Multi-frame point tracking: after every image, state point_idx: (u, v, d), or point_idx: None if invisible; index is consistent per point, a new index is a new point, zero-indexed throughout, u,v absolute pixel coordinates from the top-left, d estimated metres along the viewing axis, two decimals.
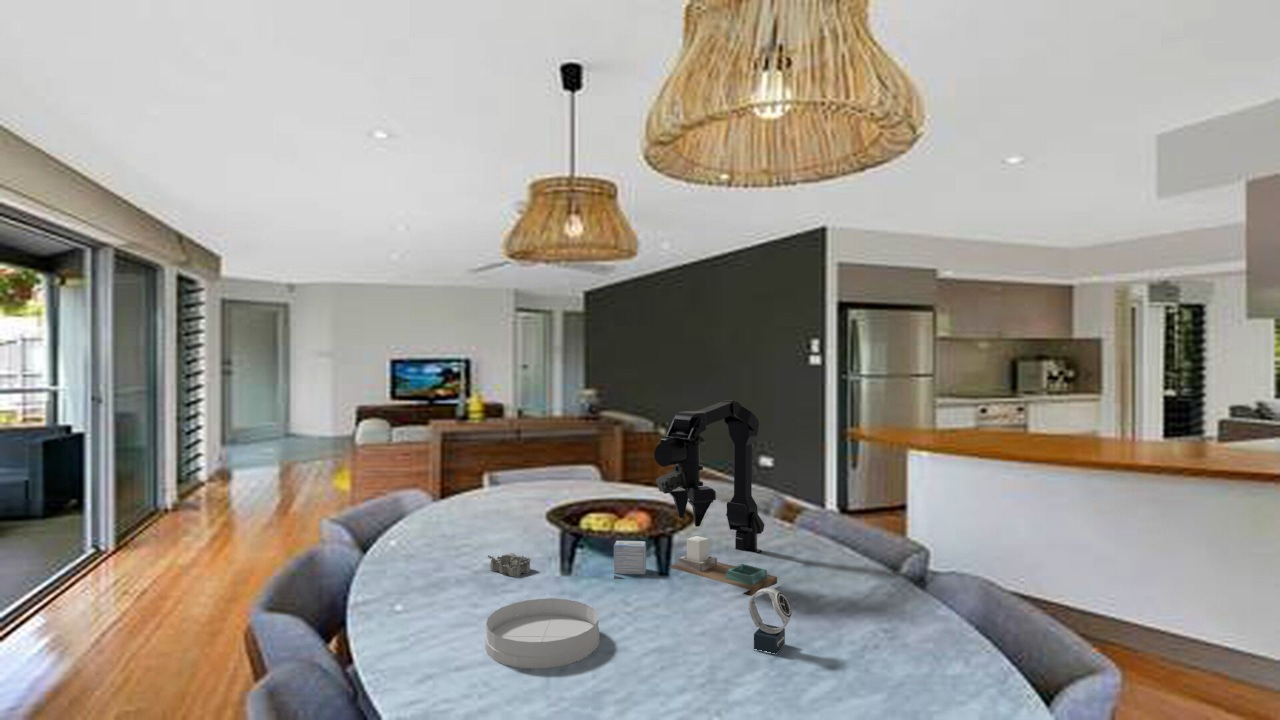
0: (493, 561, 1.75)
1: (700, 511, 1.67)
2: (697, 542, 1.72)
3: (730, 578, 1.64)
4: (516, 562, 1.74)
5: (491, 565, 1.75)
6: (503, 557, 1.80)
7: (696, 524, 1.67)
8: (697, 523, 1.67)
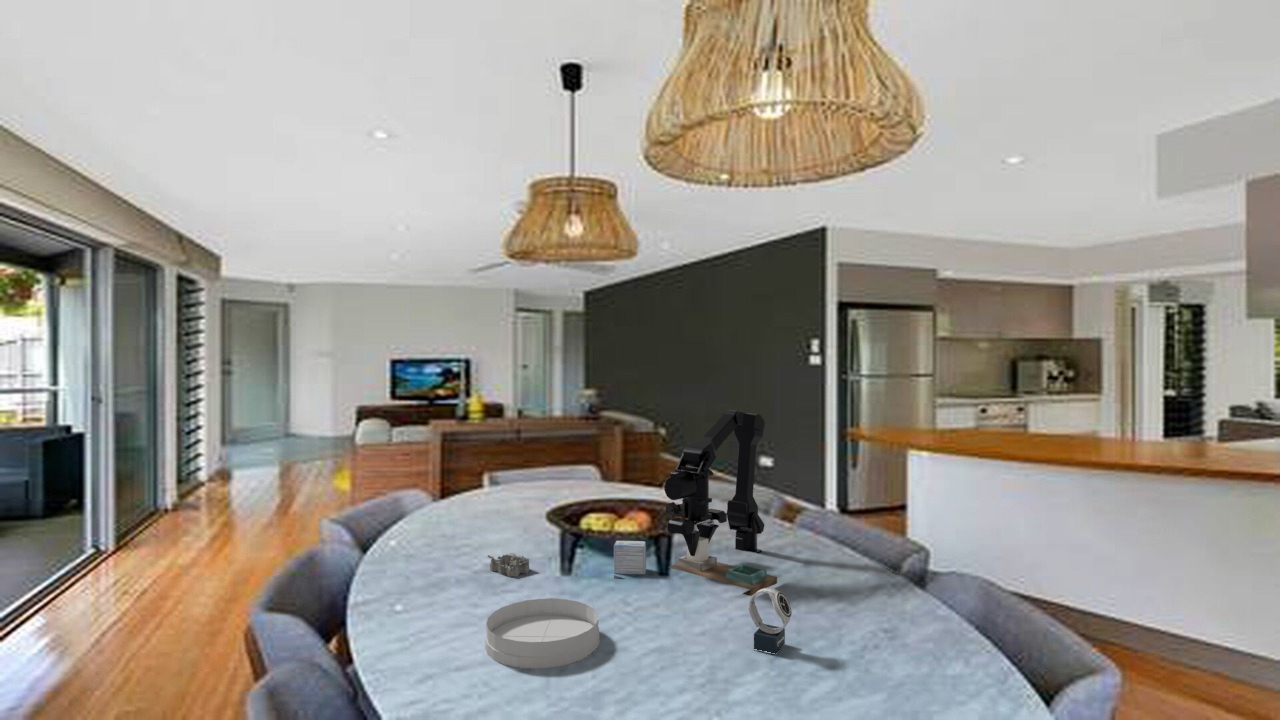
0: (492, 561, 1.75)
1: (690, 541, 1.72)
2: None
3: (730, 578, 1.64)
4: (515, 562, 1.74)
5: (490, 565, 1.75)
6: (504, 557, 1.80)
7: (690, 553, 1.73)
8: (690, 552, 1.73)
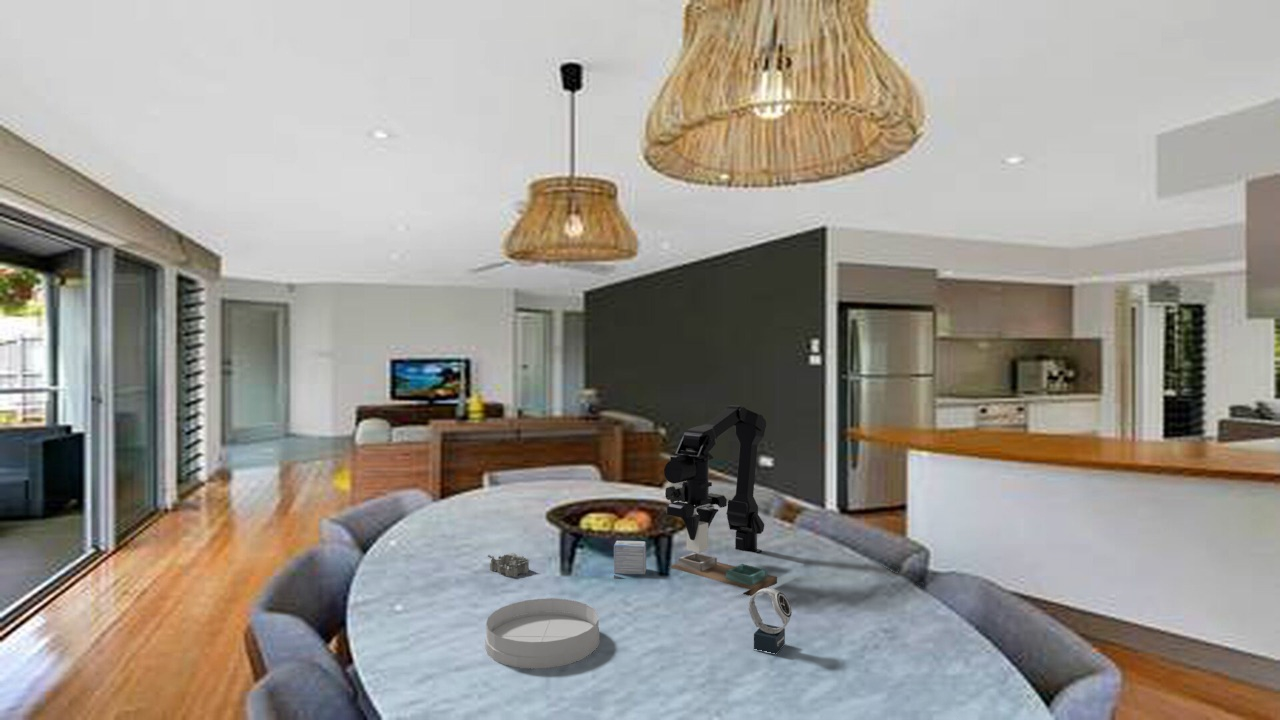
0: (492, 561, 1.76)
1: (690, 525, 1.72)
2: None
3: (730, 578, 1.64)
4: (514, 562, 1.74)
5: (490, 565, 1.75)
6: (504, 557, 1.80)
7: (690, 537, 1.73)
8: (690, 536, 1.73)
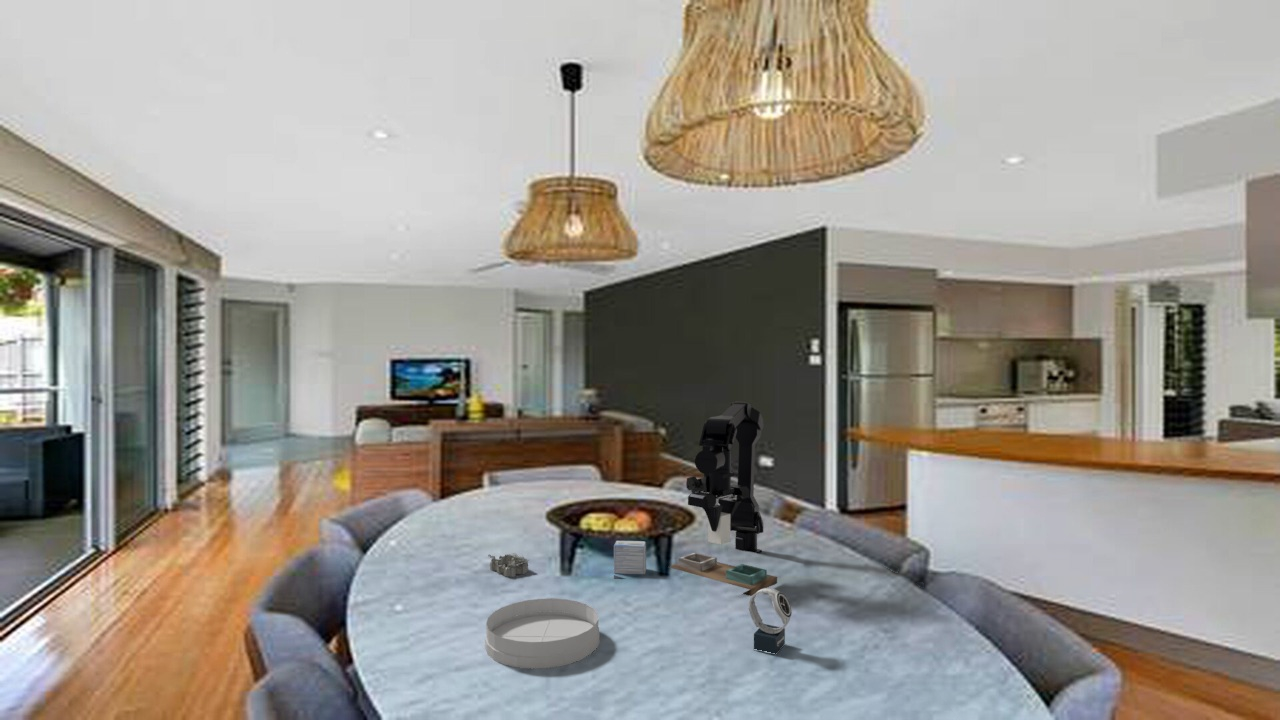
0: (492, 560, 1.76)
1: (712, 516, 1.67)
2: None
3: (730, 578, 1.64)
4: (513, 563, 1.74)
5: (490, 564, 1.76)
6: (506, 557, 1.80)
7: (712, 528, 1.68)
8: (712, 528, 1.68)
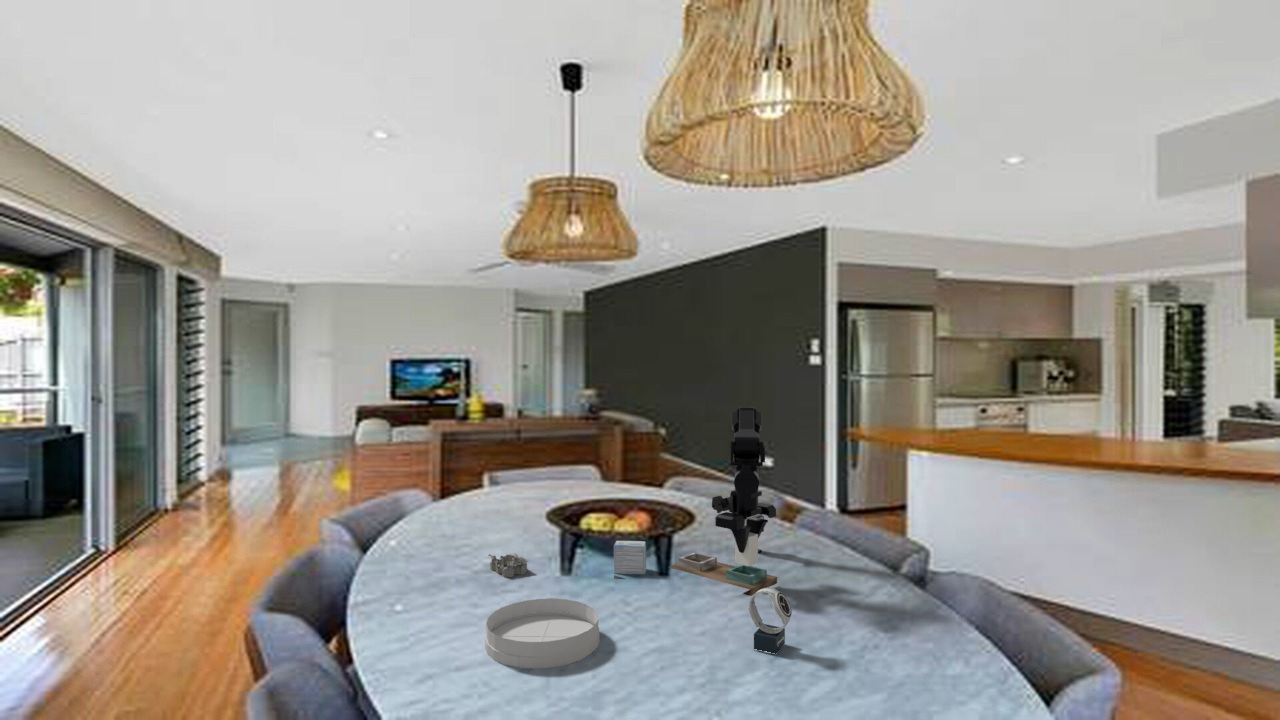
0: (492, 560, 1.76)
1: (739, 537, 1.62)
2: None
3: (730, 578, 1.64)
4: (512, 563, 1.74)
5: (490, 564, 1.76)
6: (507, 557, 1.81)
7: (739, 549, 1.63)
8: (739, 549, 1.63)
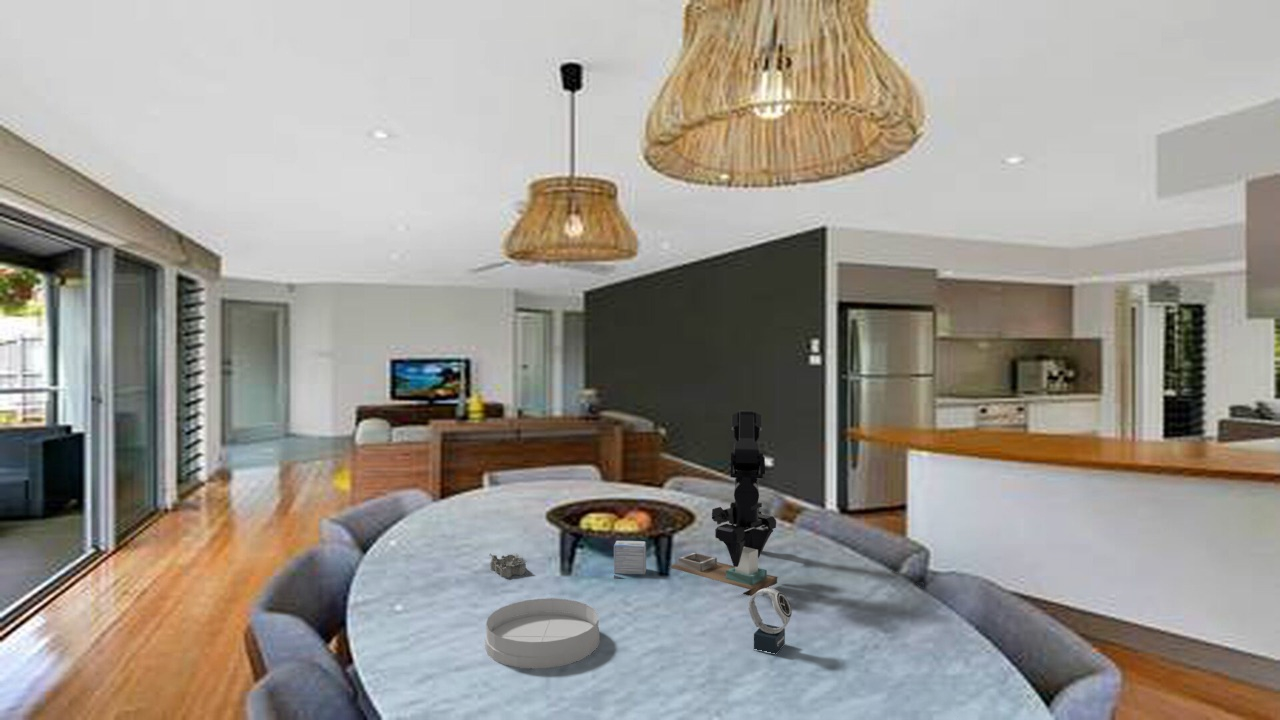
0: None
1: (734, 551, 1.60)
2: (747, 554, 1.62)
3: (730, 578, 1.64)
4: (511, 563, 1.73)
5: (490, 563, 1.76)
6: (508, 557, 1.81)
7: (733, 563, 1.61)
8: (734, 563, 1.61)
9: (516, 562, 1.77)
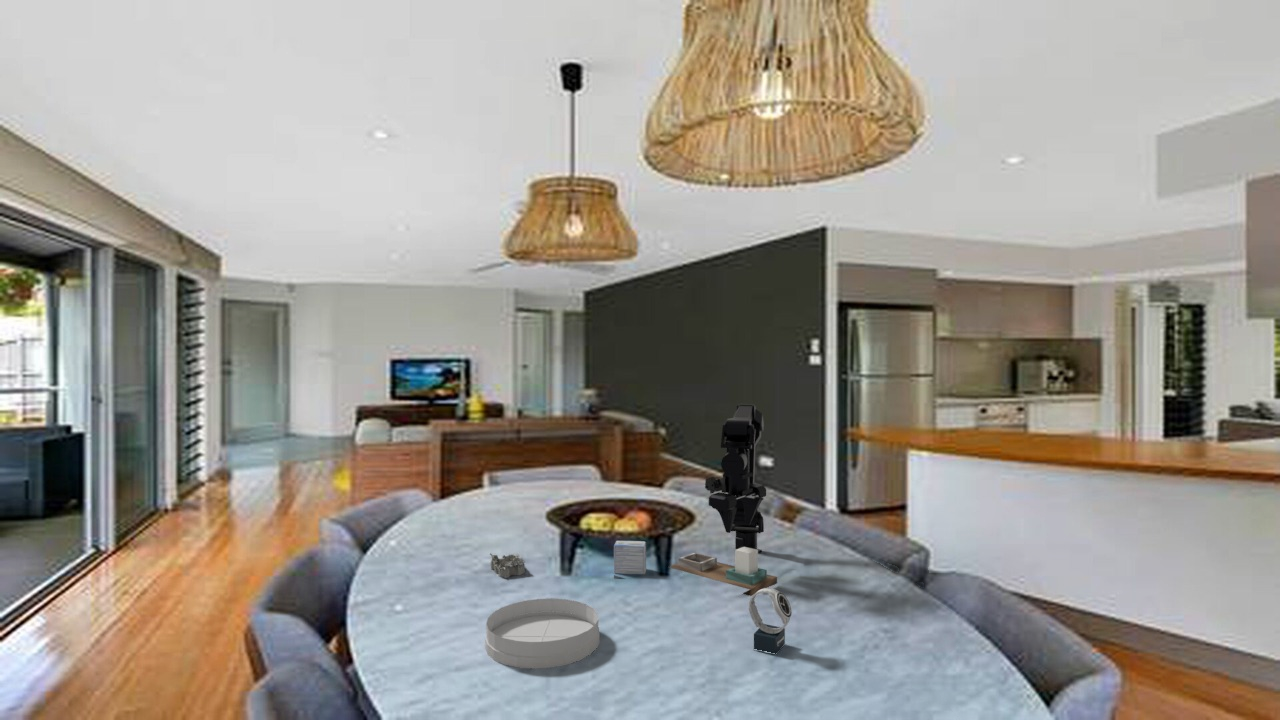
0: None
1: (726, 518, 1.69)
2: (747, 554, 1.62)
3: (730, 578, 1.64)
4: (510, 563, 1.73)
5: (490, 563, 1.77)
6: (509, 557, 1.81)
7: (726, 530, 1.70)
8: (726, 529, 1.70)
9: (516, 562, 1.77)
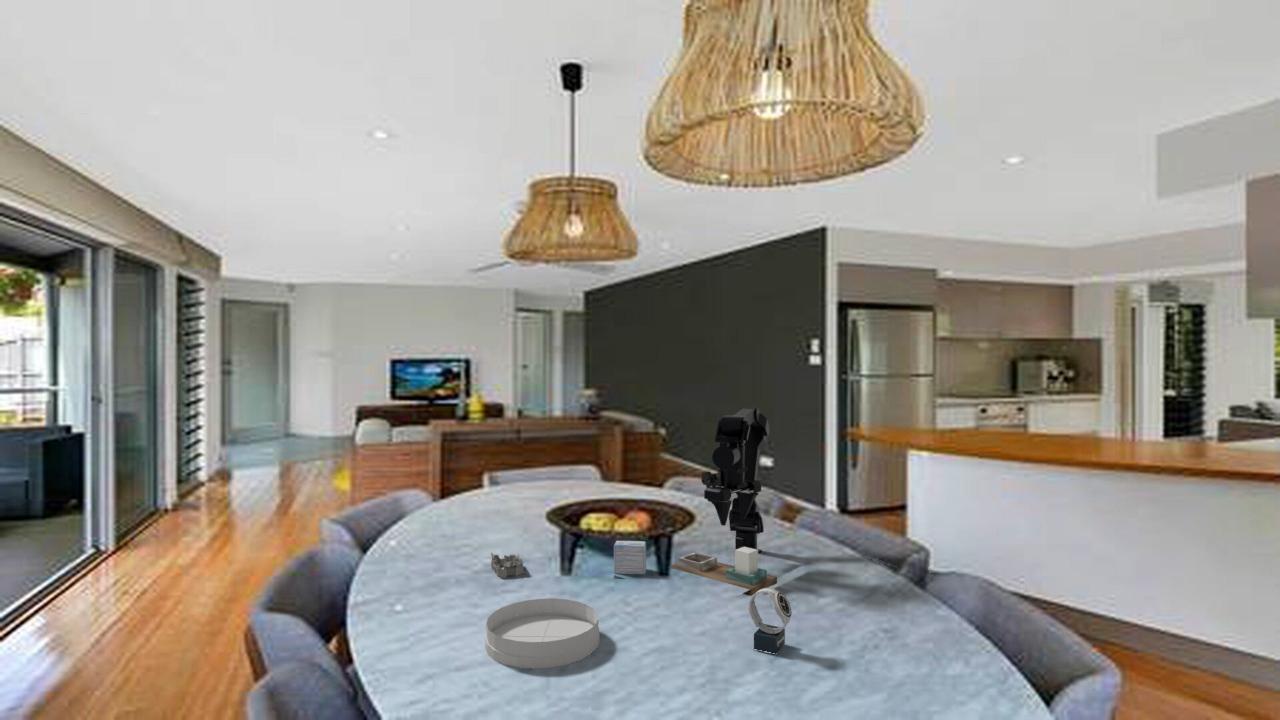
0: None
1: (721, 511, 1.74)
2: (747, 554, 1.62)
3: (730, 578, 1.64)
4: (508, 564, 1.73)
5: (491, 563, 1.77)
6: (511, 557, 1.81)
7: (721, 523, 1.75)
8: (721, 522, 1.74)
9: (516, 562, 1.77)
